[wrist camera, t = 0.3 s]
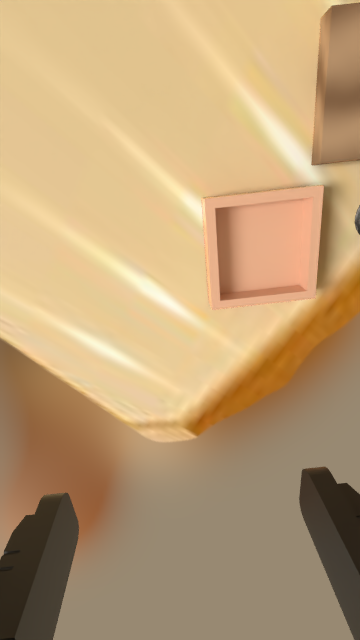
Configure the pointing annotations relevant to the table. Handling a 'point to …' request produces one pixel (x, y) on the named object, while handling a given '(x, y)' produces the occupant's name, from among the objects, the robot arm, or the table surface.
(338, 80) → the bronze block
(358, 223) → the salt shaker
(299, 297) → the tray
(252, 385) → the table surface
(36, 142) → the table surface
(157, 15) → the table surface
